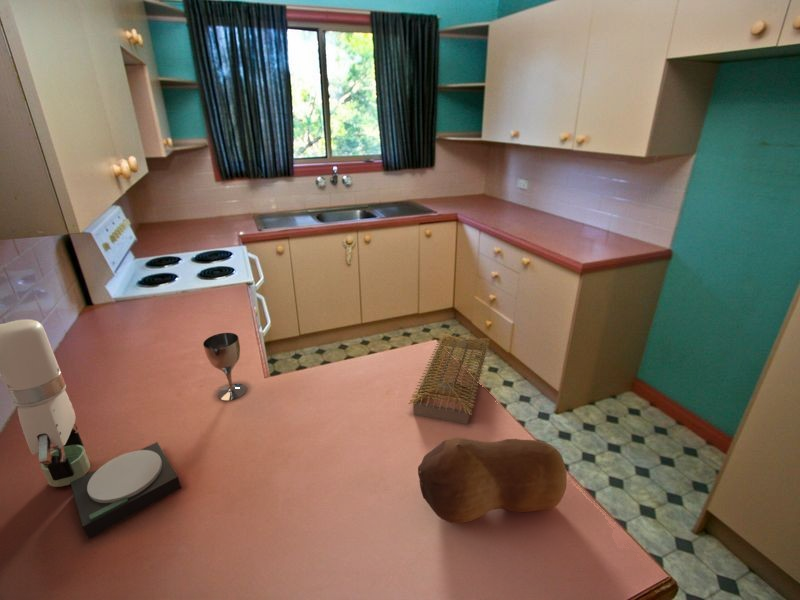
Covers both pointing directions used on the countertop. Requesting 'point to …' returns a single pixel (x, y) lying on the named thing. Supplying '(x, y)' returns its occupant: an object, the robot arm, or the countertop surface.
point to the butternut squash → (491, 477)
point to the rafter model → (449, 387)
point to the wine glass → (225, 361)
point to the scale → (123, 488)
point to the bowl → (77, 462)
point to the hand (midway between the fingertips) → (69, 462)
